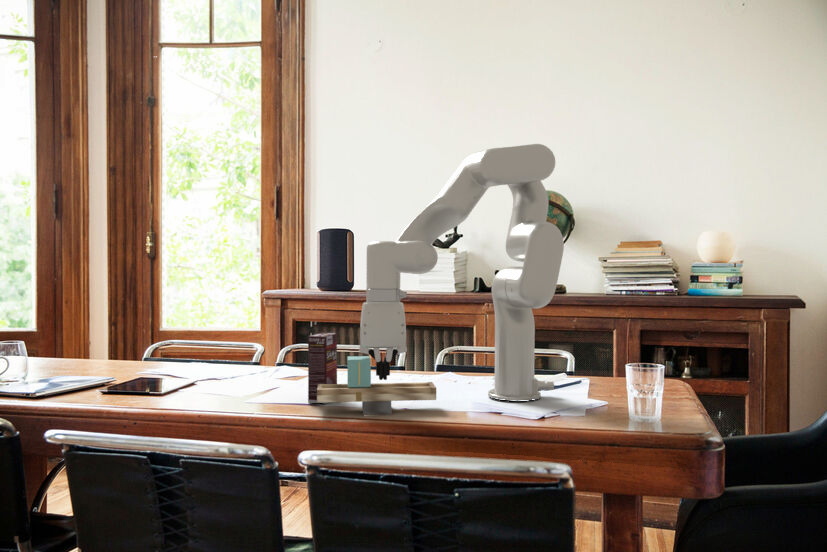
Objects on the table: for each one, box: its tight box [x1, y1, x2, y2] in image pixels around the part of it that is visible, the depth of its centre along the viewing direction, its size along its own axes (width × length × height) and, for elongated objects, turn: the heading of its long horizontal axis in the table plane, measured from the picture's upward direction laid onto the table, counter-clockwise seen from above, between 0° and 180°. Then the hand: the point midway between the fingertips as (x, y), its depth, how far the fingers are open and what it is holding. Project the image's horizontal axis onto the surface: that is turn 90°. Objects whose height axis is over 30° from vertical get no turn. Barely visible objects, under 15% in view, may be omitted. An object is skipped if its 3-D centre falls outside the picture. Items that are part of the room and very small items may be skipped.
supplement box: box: [307, 332, 338, 405], centre depth 167 cm, size 9×5×16 cm, turn 168°
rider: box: [347, 355, 372, 388], centre depth 155 cm, size 5×5×7 cm
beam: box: [317, 381, 437, 416], centre depth 156 cm, size 26×9×6 cm, turn 96°
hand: (382, 378), depth 156 cm, fingers closed
